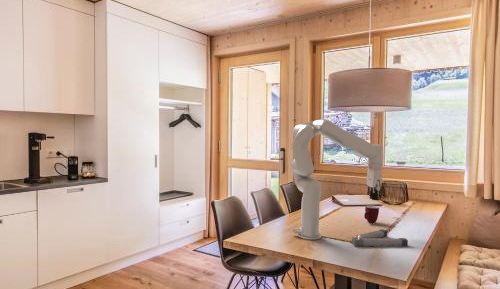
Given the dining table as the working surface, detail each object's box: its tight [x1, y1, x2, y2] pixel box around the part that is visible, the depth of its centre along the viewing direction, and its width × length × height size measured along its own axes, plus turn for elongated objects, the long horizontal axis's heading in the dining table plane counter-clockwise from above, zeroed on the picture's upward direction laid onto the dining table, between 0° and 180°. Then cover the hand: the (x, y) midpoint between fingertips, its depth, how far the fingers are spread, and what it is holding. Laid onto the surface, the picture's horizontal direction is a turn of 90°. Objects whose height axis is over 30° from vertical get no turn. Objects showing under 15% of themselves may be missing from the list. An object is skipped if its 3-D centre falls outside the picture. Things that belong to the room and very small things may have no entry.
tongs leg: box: [355, 228, 388, 238], centre depth 183 cm, size 22×3×3 cm, turn 123°
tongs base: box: [351, 236, 409, 248], centre depth 174 cm, size 27×5×4 cm, turn 93°
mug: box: [363, 204, 380, 224], centre depth 214 cm, size 11×8×10 cm
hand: (373, 199), depth 193 cm, fingers closed
